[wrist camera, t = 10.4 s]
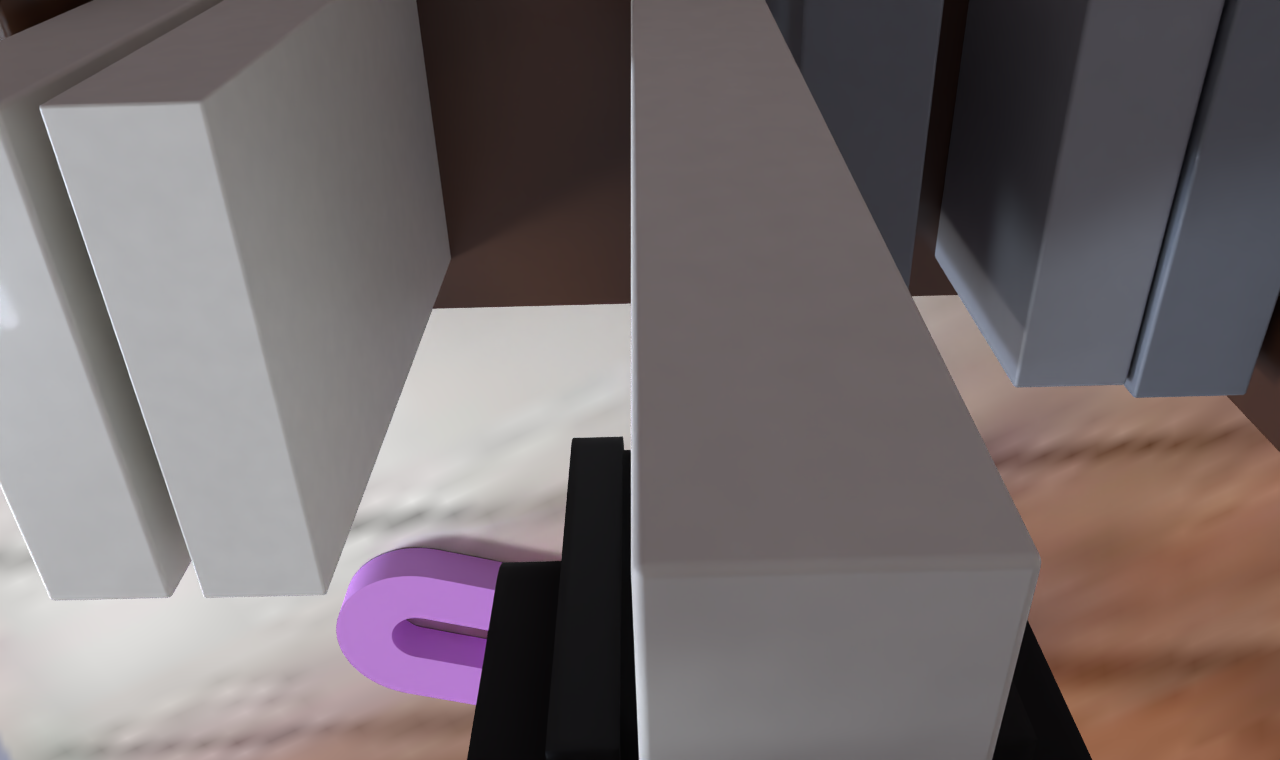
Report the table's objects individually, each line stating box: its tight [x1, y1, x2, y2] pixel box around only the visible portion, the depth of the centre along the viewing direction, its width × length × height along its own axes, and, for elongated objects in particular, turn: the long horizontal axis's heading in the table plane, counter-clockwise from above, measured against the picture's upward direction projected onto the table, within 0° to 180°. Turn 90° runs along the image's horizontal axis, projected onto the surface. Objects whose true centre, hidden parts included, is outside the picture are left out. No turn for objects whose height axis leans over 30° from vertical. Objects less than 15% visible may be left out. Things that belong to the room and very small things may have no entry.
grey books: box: [765, 0, 1280, 398], centre depth 22 cm, size 10×9×7 cm
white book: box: [631, 0, 1041, 760], centre depth 12 cm, size 2×8×13 cm, turn 2°
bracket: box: [336, 548, 503, 705], centre depth 33 cm, size 13×6×7 cm, turn 75°
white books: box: [0, 0, 451, 600], centre depth 20 cm, size 4×8×13 cm, turn 2°
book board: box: [0, 0, 1280, 452], centre depth 22 cm, size 26×11×9 cm, turn 92°
